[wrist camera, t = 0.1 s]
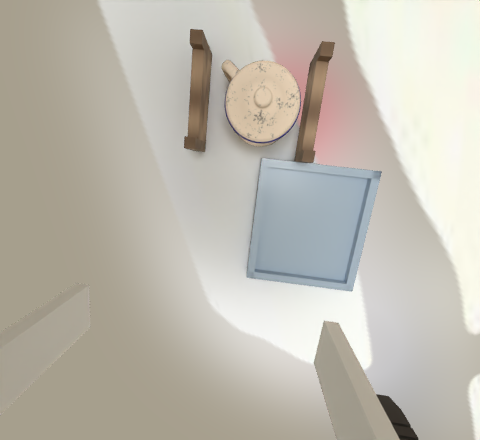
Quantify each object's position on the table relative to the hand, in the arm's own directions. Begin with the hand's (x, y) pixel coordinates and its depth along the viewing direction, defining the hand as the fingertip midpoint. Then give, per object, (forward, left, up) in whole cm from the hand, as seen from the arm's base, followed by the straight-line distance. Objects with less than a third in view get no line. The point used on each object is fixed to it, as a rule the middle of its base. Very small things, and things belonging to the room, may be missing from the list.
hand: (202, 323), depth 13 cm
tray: (0, +12, -28) cm, 30 cm away
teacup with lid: (-17, +1, -28) cm, 33 cm away
